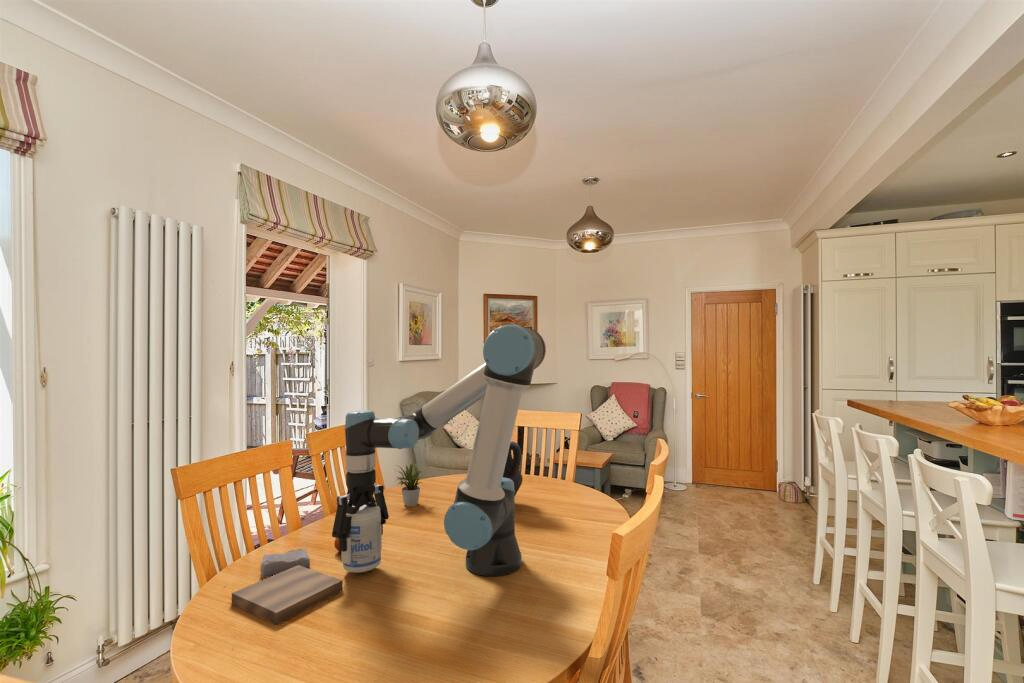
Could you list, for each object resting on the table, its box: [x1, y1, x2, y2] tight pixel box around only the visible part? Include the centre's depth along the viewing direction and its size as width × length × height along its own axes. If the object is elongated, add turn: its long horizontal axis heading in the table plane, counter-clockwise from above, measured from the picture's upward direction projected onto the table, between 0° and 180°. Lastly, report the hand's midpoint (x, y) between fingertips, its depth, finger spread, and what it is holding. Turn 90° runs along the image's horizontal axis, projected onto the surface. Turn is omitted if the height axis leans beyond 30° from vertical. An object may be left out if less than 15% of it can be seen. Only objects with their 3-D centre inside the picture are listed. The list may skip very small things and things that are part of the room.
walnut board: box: [231, 565, 343, 626], centre depth 112 cm, size 17×17×2 cm
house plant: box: [395, 461, 427, 507], centre depth 184 cm, size 14×14×16 cm
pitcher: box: [503, 440, 523, 497], centre depth 179 cm, size 21×22×25 cm
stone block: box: [260, 548, 311, 578], centre depth 129 cm, size 12×5×10 cm
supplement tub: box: [342, 505, 382, 573], centre depth 126 cm, size 10×10×15 cm
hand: (362, 555), depth 125 cm, fingers closed on supplement tub, 10 cm apart
